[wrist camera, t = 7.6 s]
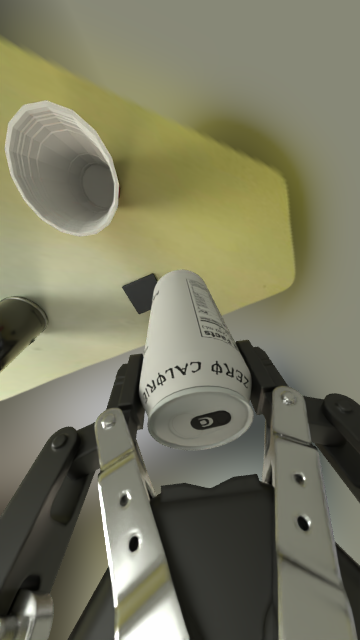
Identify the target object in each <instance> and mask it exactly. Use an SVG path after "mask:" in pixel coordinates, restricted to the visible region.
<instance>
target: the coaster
mask: <svg viewBox="0 0 360 640" xmlns="http://www.w3.org/2000/svg"><path fill="white" fill-rule="evenodd" d="M156 284H157V280H156V278H155V276H154V274H150V275H148V276H146V277H144V278H141V279H139V280H137V281H134V282H132V283H130V284H127V285H125V286H123V287H122V288H123V290H124V291H125V293H126V295H127V296H128V298H129V299H130V301H131V303H132V304H133V306H134V307H135V309H136V311H137V312H138V314H141V313H144V312H146V311H149V310H151V306H152V300H153V293H154V289H155V286H156Z"/></svg>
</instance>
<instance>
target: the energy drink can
mask: <svg viewBox="0 0 360 640" xmlns="http://www.w3.org/2000/svg"><path fill="white" fill-rule="evenodd" d="M251 389H252V377H251V374H250V371H249V369H248V367H247V365H246V363H245V361H244V359H243V357H242V355H241V353H240V351H239V349H238V347H237V345H236V344H235V342H234V340H233V338H232V336H231V334H230V332H229V330H228V328H227V326H226V324H225V322H224V320H223V318H222V316H221V314H220V312H219V310H218V308H217V306H216V304H215V302H214V300H213V298H212V296H211V294H210V292H209V290H208V288H207V286H206V284H205V282H204V281H203V279H202V278H201V277H200V276H199V275H197V274H195V273H194V272H191V271H188V270H175V271H171V272H169V273H167V274H165V275H164V276H163V277H161V279H160V280H159V281H158V282H157V284H156V286H155V289H154V293H153V300H152V306H151V313H150V319H149V326H148V332H147V339H146V345H145V352H144V358H143V365H142V371H141V378H140V384H139V397H140V401H141V403H142V405H143V407H144V409H145V411H146V413H147V415H148V430H149V433H150V434H151V436H152V437H153V438H154V439H155V440H156V441H157V442H159V443H161V444H162V445H165V446H168V447H170V448H175V449H181V450H203V449H209V448H214V447H217V446H221V445H224V444H226V443H229V442H231V441H233V440H235V439H237V438H238V437H239V436H241V435H242V434H244V433H245V432H246V431H247V430H248V428H249V427H250V425H251V424H252V421H253V410H252V407H251V405H250V403H249V401H250V396H251Z"/></svg>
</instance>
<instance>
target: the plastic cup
mask: <svg viewBox="0 0 360 640" xmlns="http://www.w3.org/2000/svg"><path fill="white" fill-rule="evenodd" d="M5 152H6V157H7V161H8V166H9V170H10V175H11V177H12V179H13V181H14V183H15V185H16V186H17V188H18V190H19V192H20V194H21V196H22V198H23V199H24V201H25V202H26V203H27V204H28V205H29V206H30V208H31V209H32V210H33V211H34V212H35V213H36V214H37V215H38V216H39V217H40V218H41V220H43V221H45V222H46V223H48V224H49V225H51V226H52V227H54V228H56V229H57V230H59V231H60V232H64V233H68V234H71V235H75V236H79V237H80V236H87V235H93V234H97V233H98V232H100V231H101V230H102V229H104V228H105V227H106V226H108V225H109V224H110V222H111V220H112V218H113V216H114V214H115V212H116V210H117V208H118V199H119V197H120V186H119V182H118V178H117V175H116V171H115V167H114V164H113V160H112V157H111V155H110V154H109V152H108V150H107V149H106V147H105V145H104V144H103V142H102V140H101V139H100V137H99V135H98V134H97V132H96V131H95V130H94V129H93V128H92V127H91V126H90V125H89V124H88V123H86V122H85V121H84V120H83V119H82V118H81V117H80V116H79V115H78V114H76V113H75V112H74V111H73V110H71V109H68V108H66V107H63V106H60V105H57V104H55V103H52V102H49V101H47V100H46V101H41V102H36V103H31V104H26V105H23V106H22V107H21V108H20V109H19V111H18V112H17V113H16V114H15V116H14V117H13V118H12V119H11V120H10V122H9V123H8V129H7V136H6V143H5Z"/></svg>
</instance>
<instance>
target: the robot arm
mask: <svg viewBox="0 0 360 640" xmlns="http://www.w3.org/2000/svg"><path fill="white" fill-rule="evenodd" d="M47 324H48V320H47V317H46V315H45V313H44V312H43V310H42V309H41V308H40V307H39V306H38V305H36V304H35V303H33V302H31V301H30V300H27V299H24V298H21V297H8V298H5V299H3V300H1V301H0V373H1V372H2V371H3V370H4V369H5V368H6V367H7V366H8V365H9V364H10V363H11V362H12V361H13V360H14V359H15V358H16V357H17V356H18V355H19V354H20V353H21V352H22V351H23V350H24V349H25V348H26V347H27V346H28V345H30V344H31V343H32V342H34V341H35V340H34V339H35V338H36V337H37V336H38V335H39V334H40V333H42V332H43V331H44V330H45V329H46V327H47ZM33 340H34V341H33ZM236 345H237V347H238V349H239V351H240V353H241V355H242V357H243V359H244V361H245V363H246V365H247V367H248V369H249V371H250V374H251V377H252V389H251V396H250V400H251V403H252V405H253V407H254V409H255V412H256V414H257V415H260V414H263V415H264V417H265V419H266V422H265V443H264V465H263V473H262V482H261V481H259V478H258V476H257V474H253V475H246V476H237V477H233V478H230V479H228V480H226V481H224V482H222V483H220V484H219V485H217V486H215V487H213V488H205V487H201V486H196V485H191V484H187V483H181V484H173V485H165V486H161V493H160V494H158V495H157V496H156V494H155V491H154V488H153V486H152V483H151V481H150V478H149V476H148V473H147V470H146V467H145V464H144V461H143V458H142V455H141V452H140V449H139V446H138V443H137V440H136V434H137V430H140V429H143V423H144V413H145V409H144V407H143V405H142V403H141V401H140V397H139V384H140V378H141V371H142V365H143V358H144V357H143V354H135V355H130V357H129V361H128V364H123V365H122V366H121V367H120V369H119V370H118V372H117V375H116V380H115V382H114V386H113V389H112V392H111V395H110V399H109V402H108V406H107V409H106V410H105V411H104V412H103V413H101V414H100V416H99V417H98V418H97V420H96V422H94V423H93V424H91V425H88V426H86V427H84V428H82V429H79V430H77V431H76V430H75V429H74V428H73V427H65V428H62V429H60V430H58V431H57V432H55V433H54V434H53V435H52V436H51V437H50V439H49V440H48V441H47V442H46V444H45V446H44V447H43V449H42V451H41V452H40V454H39V455H38V457H37V459H36V460H35V462H34V463H33V465H32V467H31V468H30V470H29V471H28V473H27V475H26V476H25V478H24V480H23V481H22V483H21V484H20V486H19V488H18V489H17V491H16V493H15V494H14V496H13V497H12V499H11V501H10V502H9V504H8V505H7V507H6V509H5V510H4V512H3V514H2V515H1V517H0V640H48V637H49V633H50V629H51V625H52V620H53V601H52V598H51V596H50V592H51V589H52V586H53V584H54V581H55V578H56V576H57V573H58V570H59V567H60V565H61V562H62V559H63V557H64V554H65V551H66V549H67V546H68V543H69V540H70V538H71V535H72V532H73V530H74V527H75V524H76V521H77V519H78V516H79V514H80V511H81V508H82V505H83V503H84V500H85V497H86V495H87V492H88V489H89V487H90V484H91V481H92V479H93V476H94V473H95V471H96V470H97V469H99V468H100V469H101V470H100V473H99V474H98V487H99V494H100V500H101V508H102V516H103V524H104V531H105V539H106V545H107V553H108V561H109V567H108V568H107V570H106V572H105V574H104V575H103V577H102V579H101V581H100V583H99V584H98V586H97V588H96V590H95V591H94V593H93V595H92V597H91V599H90V600H89V602H88V604H87V606H86V607H85V610H84V611H83V613H82V615H81V616H80V618H79V620H78V622H77V624H76V625H75V627H74V629H73V631H72V632H71V634H70V636H69V638H68V640H360V565H359V564H358V563H356V562H355V561H354V560H353V559H352V558H351V557H350V556H349V555H348V554H347V553H346V552H345V551H344V550H343V549H342V548H341V547H340V546H339V545H338V544H337V543H336V542H335V541H334V535H333V529H332V524H331V518H330V513H329V507H328V502H327V496H326V490H325V485H324V479H323V474H322V468H321V462H320V457H319V453H318V450H317V448H316V447H315V446H313V445H312V442H313V443H315V445H316V446H317V447H318V448H319V450H320V451H321V452H322V454H323V455H324V456H325V458H326V459H327V460H328V462H329V463H330V464H331V466H332V467H333V468H334V470H335V471H336V472H337V474H338V475H339V476H340V478H341V479H342V480H343V482H344V483H345V484H346V485H347V487H348V488H349V489H350V491H351V492H352V493H353V495H354V496H355V497H356V499H357V500H358V501H359V502H360V405H359V404H358V403H356V402H355V401H354V400H352V399H351V398H348V397H347V396H344V395H341V394H329V395H327V396H326V397H325V399H317V398H310V397H305V396H302V395H301V394H300V393H299V392H298V391H297V390H295V389H293V388H291V387H289V386H288V385H287V384H286V382H285V381H284V379H283V378H282V376H281V375H280V373H279V372H278V370H277V369H276V368H275V366H274V365H273V363H272V362H271V360H270V359H269V357H268V356H267V354H266V353H265V351H263V350H262V349H260V348H259V347H253V346H252V345H251V343H250V341H249V340H243V341H236Z"/></svg>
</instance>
